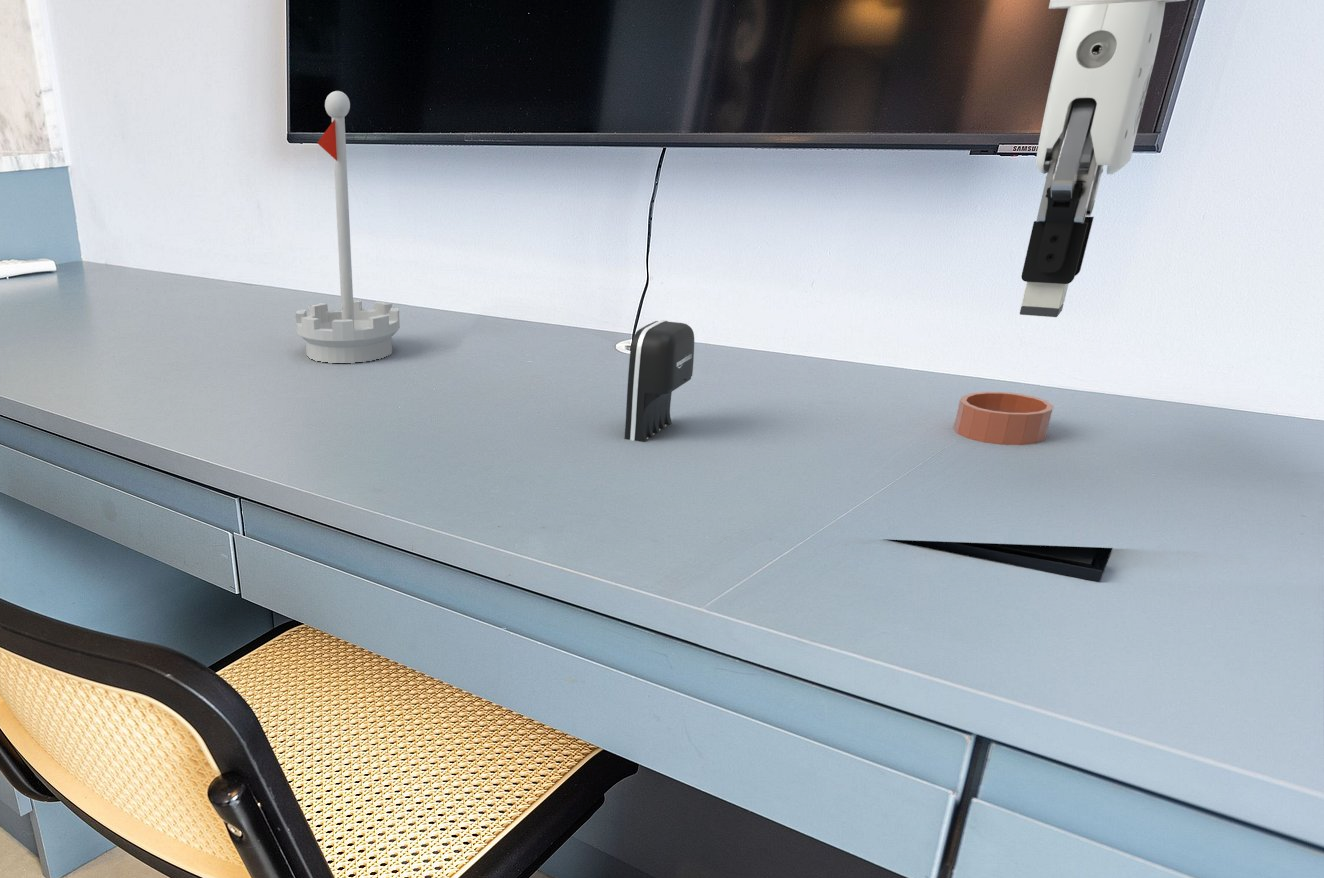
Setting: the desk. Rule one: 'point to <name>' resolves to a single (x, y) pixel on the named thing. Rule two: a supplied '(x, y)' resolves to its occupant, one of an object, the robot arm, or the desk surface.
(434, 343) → the desk surface
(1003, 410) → the bangle ring
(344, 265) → the flag stand
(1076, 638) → the desk surface
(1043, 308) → the grey piece
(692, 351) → the battery charger
